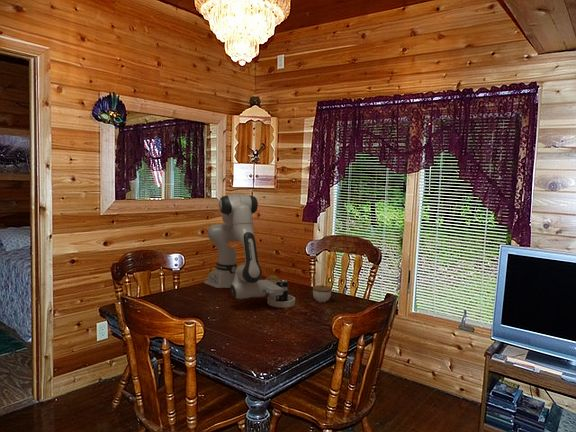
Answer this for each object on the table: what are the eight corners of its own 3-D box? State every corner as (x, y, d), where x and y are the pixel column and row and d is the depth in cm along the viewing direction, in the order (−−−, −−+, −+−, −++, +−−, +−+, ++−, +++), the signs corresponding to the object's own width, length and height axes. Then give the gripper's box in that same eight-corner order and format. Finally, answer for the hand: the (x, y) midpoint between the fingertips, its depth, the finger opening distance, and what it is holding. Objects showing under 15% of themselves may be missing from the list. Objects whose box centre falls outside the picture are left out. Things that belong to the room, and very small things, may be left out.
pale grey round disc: (262, 303, 231) (262, 298, 230) (278, 297, 243) (278, 292, 242) (284, 309, 222) (284, 303, 222) (300, 303, 234) (300, 297, 234)
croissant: (278, 295, 260) (284, 284, 259) (264, 288, 258) (270, 277, 258) (274, 285, 281) (280, 275, 280) (261, 278, 279) (267, 268, 279)
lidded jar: (324, 305, 233) (325, 288, 232) (308, 300, 239) (309, 284, 238) (334, 301, 241) (335, 285, 240) (318, 297, 248) (319, 281, 247)
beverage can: (281, 299, 236) (282, 278, 235) (290, 302, 231) (291, 281, 230) (272, 301, 232) (273, 280, 230) (281, 304, 227) (282, 282, 226)
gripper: (268, 287, 216) (292, 285, 222) (253, 278, 234) (275, 276, 240) (268, 299, 216) (291, 297, 223) (252, 289, 234) (274, 287, 241)
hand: (282, 286), depth 232 cm, fingers open, 8 cm apart
